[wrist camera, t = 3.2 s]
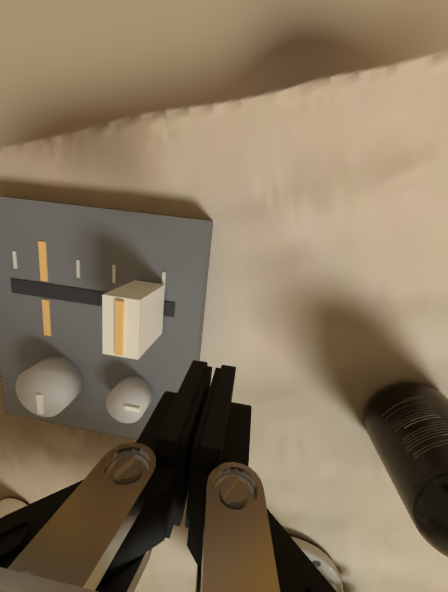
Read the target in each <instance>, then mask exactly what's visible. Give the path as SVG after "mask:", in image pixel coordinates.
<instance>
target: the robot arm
mask: <svg viewBox="0 0 448 592" xmlns="http://www.w3.org/2000/svg"><path fill="white" fill-rule="evenodd" d="M235 371H236V367H232V366H226V365H222V367H221V368H216V369H215V373H214V376H213V379H212V383H211V373H212V367H209V366H207V362H202V361H196V360H193V361H192V363H191V365H190V367H189V370H188V372H187V374H186V376H185V378H184V380H183V382H182V384H181V386H180V388H179V391H178V393H176V392H170V391H165V392H164V393H163V395H162V397H161V399H160V401H159V402H158V404H157V406H156V408H155V410H154V411H153V413H152V415H151V417H150V419H149V420H148V422H147V424H146V426H145V428H144V429H143V431H142V433H141V435H140V437H139V438H138V440H137V442H136V443H126V444H122V445H119V446H117V447H115V448H113V449H112V450H110V451H109V452H108V453H107V454H106V455H105V456H104V457H103V458H102V459H101V460H100V461H99V463H98V464H97V465H96V466H95V467H94V468H93V470H92V471H91V472H90V473H89V474H88V475H87V477H86V478H85V479H84V480H82V481H80V482H78V483H76V484H73V485H71V486H69V487H67V488H64V489H62V490H60V491H58V492H56V493H53V494H51V495H49V496H47V497H45V498H42V499H40V500H38V501H36V502H34V503H31V504H29V505H27V506H25V507H23V508H20V509H18V510H16V511H14V512H12V513H9V514H7V515H5V516H4V517H2V518H0V592H134V590H135V588H136V586H137V584H138V582H139V580H140V578H141V575H142V573H143V571H144V569H145V567H146V565H147V562H148V560H149V557H150V554H151V551H152V548H153V547H155V546H156V545H158V544H159V543H161V542H162V541H163V540H164V539H165V537H166V538H170V535H171V532H172V528H173V525H177V526H180V524H181V520H182V516H183V513H184V509H185V505H186V501H187V511H186V522H185V527H186V528H189V531H188V541H187V546H188V548H189V550H190V552H191V554H192V556H193V558H194V559H195V561H196V563H197V572H196V588H195V592H344V591H343V586H342V581H341V577H340V574H339V571H338V569H337V567H336V566H335V564H334V562H333V561H332V560H331V559H330V558H329V557H328V556H327V555H326V554H325V553H324V552H322V551H321V550H320V549H319V548H317V547H316V546H314V545H312V544H310V543H308V542H306V541H304V540H301V539H299V538H296V537H292V536H290V535H289V534H288V533H287V532H286V531H285V530H284V528H283V527H282V526H281V525H280V524H279V522H278V521H277V520H276V519H275V518H274V516H273V515H272V514H271V513H270V512H269V510H268V509H267V507H266V501H265V495H264V489H263V485H262V482H261V480H260V478H259V477H258V475H257V474H256V473H255V472H254V471H253V470H252V469H251V468H250V467H248V462H249V443H250V425H251V406H250V405H244V404H238V403H233V402H231V400H232V393H233V386H234V378H235ZM210 383H211V386H210ZM187 497H188V500H187Z"/></svg>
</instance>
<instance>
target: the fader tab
mask: <svg viewBox="0 0 448 592" xmlns="http://www.w3.org/2000/svg"><path fill="white" fill-rule="evenodd" d="M164 292H165V284H158V283H151V282H144V281H137V280H134V281H132V282H130V283H127V284H125V285H123V286H120V287H118V288H116V289H114V290H111V291H109V292H107V293H105V294H102V353H103V354H107V355H113V356H118V357H124V358H130V359H136V360H138V359H139V358H140V357H141V356H142V355H143V354H144V353H145V352H146V350H147V349H148V348H149V347H150V346H151V345H152V344H153V343H154V342H155V341H156V340H157V338H158V337H159V336H160V335H161V334H162V328H163V310H164Z"/></svg>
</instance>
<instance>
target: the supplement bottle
mask: <svg viewBox="0 0 448 592" xmlns="http://www.w3.org/2000/svg"><path fill="white" fill-rule="evenodd" d="M364 420H365V427H366V430H367V433H368V435H369V437H370V439H371V441H372V443H373V445H374V447H375V449H376V451H377V453H378V455H379V457H380V459H381V461H382V462H383V464H384V466H385V468H386V470H387V472H388V474H389V476H390V478H391V480H392V482H393V484H394V486H395V488H396V490H397V492H398V494H399V496H400V497H401V499H402V501H403V503H404V505H405V507H406V509H407V511H408V513H409V515H410V517H411V519H412V521H413V523H414V524H415V526H416V528H417V529H418V531H419V532H420V534H421V535H422V536H423V538H424V539H425V540H426V541H427V542H428V543H429V544H430V545H431V546H432V547H434V548H435V549H436V550H437V551H439V552H440V553H442V554H443V555H445V556H447V557H448V399H447V398H446V397H445V396H444V395H443V394H442V393H440V392H439V391H437V390H436V389H434V388H432V387H430V386H427V385H424V384H420V383H400V384H395V385H392V386H389V387H387V388H385V389H383V390H382V391H380V392H379V393H377V394H376V395H375V396H374V397H373V398H372V400H371V401H370V402H369V404H368V406H367V408H366V412H365V419H364Z"/></svg>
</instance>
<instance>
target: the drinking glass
mask: <svg viewBox="0 0 448 592" xmlns="http://www.w3.org/2000/svg"><path fill="white" fill-rule="evenodd" d="M25 506H27V504H26V503H24V502H23V501H21V500H18V499H14V498H6V499H3V500H1V501H0V518H2V517H4V516H5V515H7V514H9V513H12V512H14V511H16V510H18V509H20V508H23V507H25Z"/></svg>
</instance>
